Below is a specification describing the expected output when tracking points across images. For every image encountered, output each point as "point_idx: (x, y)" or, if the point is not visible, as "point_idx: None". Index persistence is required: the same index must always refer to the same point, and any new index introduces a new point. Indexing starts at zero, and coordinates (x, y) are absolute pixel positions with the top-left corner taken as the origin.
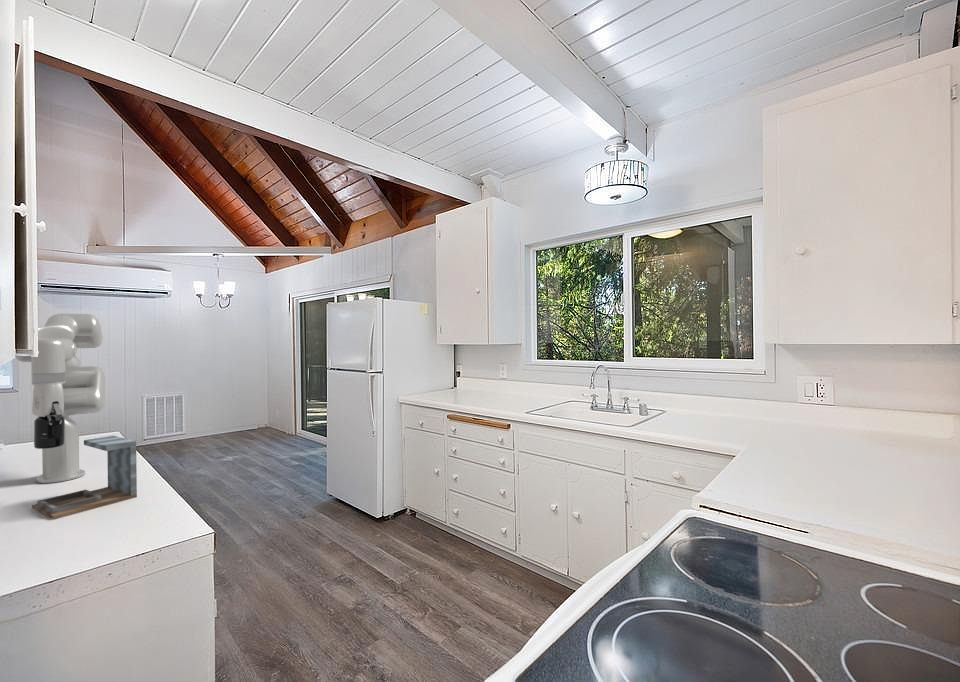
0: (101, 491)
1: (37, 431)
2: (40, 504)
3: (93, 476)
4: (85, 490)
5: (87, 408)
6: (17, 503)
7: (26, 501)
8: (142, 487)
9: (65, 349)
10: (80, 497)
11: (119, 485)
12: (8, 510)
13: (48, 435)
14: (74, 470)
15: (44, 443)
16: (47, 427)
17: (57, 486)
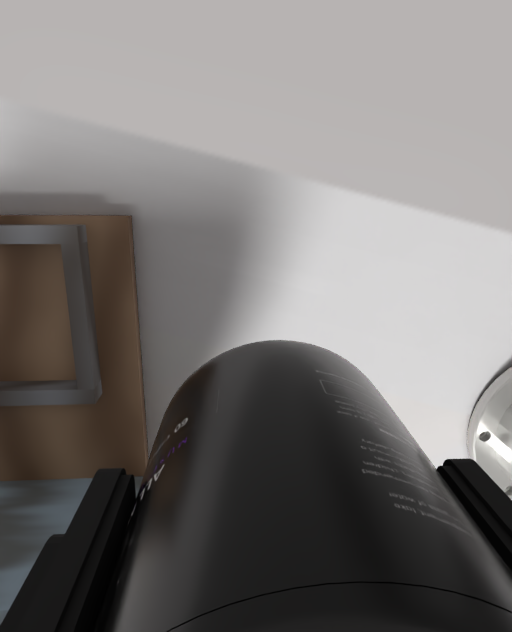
0: (89, 440)
1: (227, 456)
2: (37, 225)
3: None
4: (78, 398)
5: None
6: (284, 205)
7: (281, 236)
8: None
9: None
10: (66, 366)
11: (14, 497)
12: (196, 150)
13: (86, 499)
14: (510, 475)
15: (170, 410)
16: (35, 612)
17: (414, 377)
